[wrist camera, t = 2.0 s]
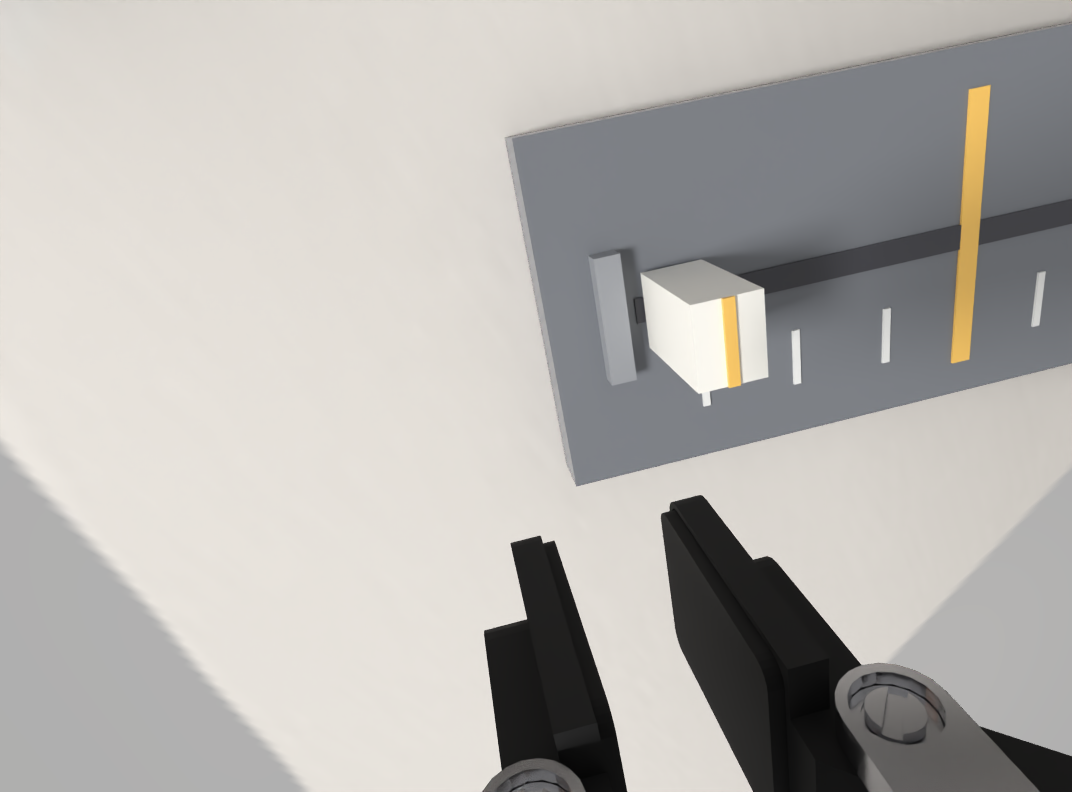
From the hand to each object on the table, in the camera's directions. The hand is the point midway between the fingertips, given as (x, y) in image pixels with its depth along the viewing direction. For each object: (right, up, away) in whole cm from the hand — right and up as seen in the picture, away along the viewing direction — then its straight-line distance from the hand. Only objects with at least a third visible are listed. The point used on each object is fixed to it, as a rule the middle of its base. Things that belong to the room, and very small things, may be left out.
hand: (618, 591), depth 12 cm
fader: (+4, +7, +14) cm, 16 cm away
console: (+13, +10, +17) cm, 24 cm away
